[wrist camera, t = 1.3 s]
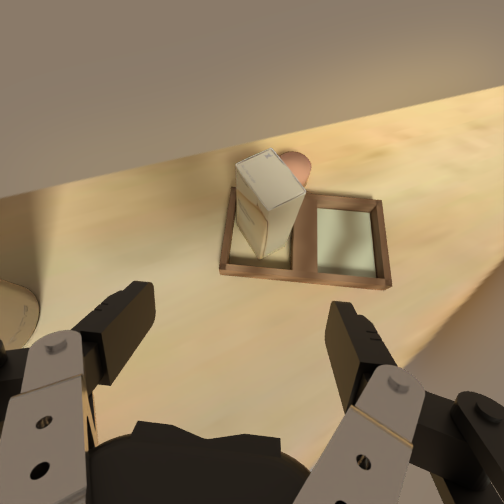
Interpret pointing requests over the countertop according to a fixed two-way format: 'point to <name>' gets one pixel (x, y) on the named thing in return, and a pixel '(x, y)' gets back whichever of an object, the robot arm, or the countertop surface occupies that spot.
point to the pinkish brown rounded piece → (297, 165)
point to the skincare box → (266, 201)
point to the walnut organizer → (326, 244)
